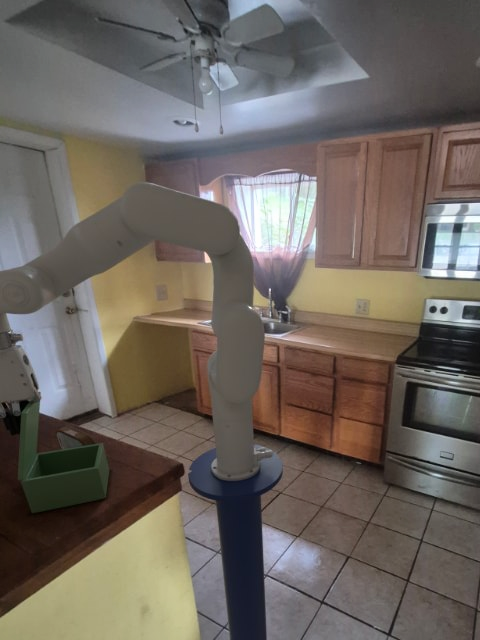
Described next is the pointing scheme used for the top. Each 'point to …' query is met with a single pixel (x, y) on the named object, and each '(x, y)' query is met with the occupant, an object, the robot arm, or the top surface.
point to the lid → (28, 437)
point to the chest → (66, 477)
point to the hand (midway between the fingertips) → (18, 431)
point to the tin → (73, 438)
